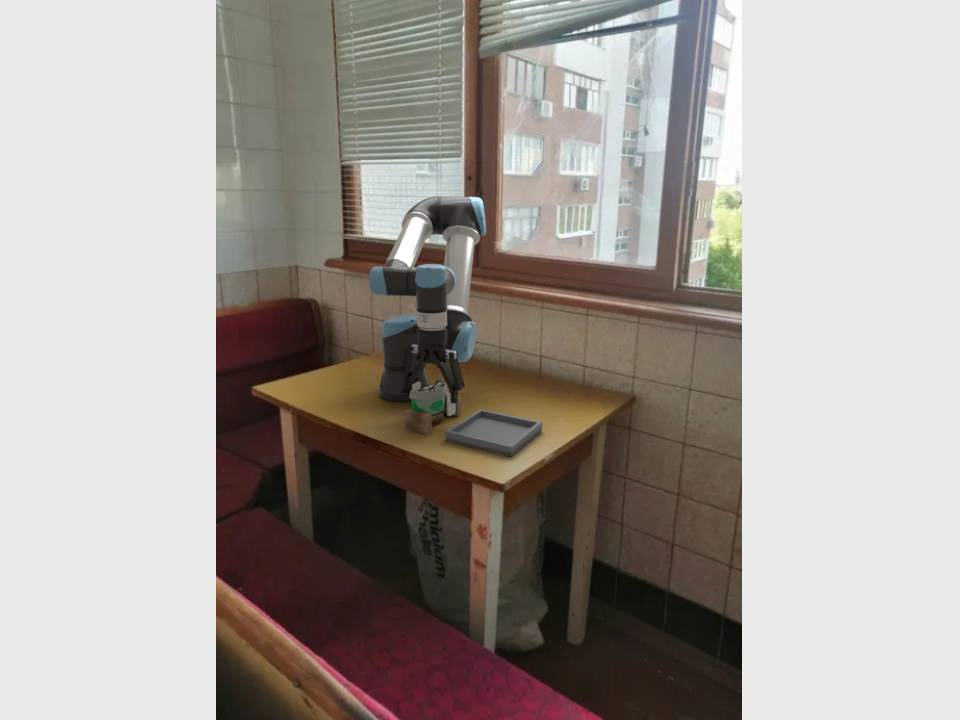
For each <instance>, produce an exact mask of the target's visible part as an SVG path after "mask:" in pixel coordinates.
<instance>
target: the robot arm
mask: <svg viewBox="0 0 960 720" xmlns="http://www.w3.org/2000/svg"><path fill="white" fill-rule="evenodd" d="M484 205H485V204H484V201H483V199H482V198H480V197H478V196H477V197H476V196H469V195H468V196H431V197H428V198H425V199H422V200H420V201H419V202H418V203H415V204H414V205H413V206H412V207H411V208H410V209H409V210H408V211H407V212H405V213H406V214H405V215H404V216H403V219H402V221H401V230H400V233H399V235H398V237H397V239H396V241H395V243H394V245H393V248H392V249H391V252H389V255H388V257H387V259H386V262H385V264H384V265H383V266H382V265H379V266H373V267H372V268H371V270H369V271H370V272H369V275H368V284H369V289H370V292H371V293H372V294H373V295H377V296H385V297H387V296H388V297H391V296H392V297H393V296H397V297H398V296H399V297H400V296H402V297H403V296H404V297H415V298H416V299H415V301H416V302H415V303H416V313H413V314H412V313H410V314H402V315H398V316H392V317H390V318H388V319H386V320H385V321H383V324H382V334H381V338H382V352H383V353H382V354H383V371H382V376H381V379H380V382H379V386H378V392H379V393H378V395H379V396H380V398H382V399H384V400H386V401H391V402H399V403H401V402H411V398H409V396H410V390H413V391H417V390H419V389H421V388H422V387H424V386H426V385H430V382H429V379H428V376H427V373H426V370H425V367H426V365H427V364H432V365H435V366H436V367H437V369H438V370H440V371H439V372H441V373H440V374H441V375H442V377H443V379H444V382H445V384H446V386H447V389H449V390H448V391H447V393H446V394H447V414H446V415H447V416H448V417H451V416H453V414H454V413H455V403H456V402H457V401H458V397H459V391H460V390H461V391H462V390H463V389H464V388H465V387H466V385H465V381H464V378H463V374H462V369H461V366H460V363H466V362H468V361H469V360H470V359H471V357H473V356H472V355H473V353H474V350H475V345H476V340H477V324H476V323H475V322H474V321H473V319H472V318H473V317H472V315H470V314H469V313H468V311H469V302H470V301H469V300H470V293H471V292H470V291H471V281H472V272H473V261H474V254H475V253H474V251H475V246H476V245H478V244H479V242H480V239H481V237H483V236H485V235H486V234H487V225H486V224H487V223H486V215H485V214H486V213H485V207H484ZM433 235H439V236H442V238H443V241H445V242H446V244H445V253H444V260H443V261H444V262H443V264H439V263H438V264H437V263H427V264H426V263H425V264H419V265H418V266H416V263H417V261H418V258H419V257H420V254H421V251H422V249H423V246H424V244H425V242H426V240H428V239H429V238H430V237H431V236H433ZM415 266H416V267H415Z"/></svg>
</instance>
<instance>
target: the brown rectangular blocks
mask: <svg viewBox="0 0 960 720" xmlns="http://www.w3.org/2000/svg"><path fill="white" fill-rule="evenodd" d="M444 415H447V393H446V394H445V402H444ZM453 416H454V417H460V416H462V397H460V396H458V401H457V402H456V403H455V413H454V414H453V415H452V417H453ZM404 422H405V424H404V426H405V430H406V431H410V432H414V433H419V434H421V435H422V434H423V435H426V436H429V435H431V434H433V426H432V414H428V413H423V412H419V411H415V410H412V409H411V408H408V409H406V410H405V411H404Z"/></svg>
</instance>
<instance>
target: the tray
mask: <svg viewBox="0 0 960 720" xmlns="http://www.w3.org/2000/svg"><path fill="white" fill-rule="evenodd" d="M541 431H542V432H543V421H538V420H535V419H529V418H524V417H521V416H515V415H510V414H506V413H501V412H496V411H493V410H492V411H491V410H487V409H486V410H485V409H482V408H479V409H478V410H477V411H475V412H473V413H471V414H470V415H469V416H467V417H465V418H463V420H460V421H459V422H457V423H456V424H454V425H453V426H451V427H449V428H448V429H447V430H445V431H444V432H445V434H444V435H445V438H444V440H445V442H449V443H453V444H456V445H460V446H465V447H467V448H468V447H469V448H473V449H477V450H480V449H481V450H480V451H484V450H486V451H485V452H488V451H490V452H489V453H492V452H494V453H493V454H496V453H499V454H498V455H500V454H503V455H502V456H504V455H507V456H506V457H508V456H511V457H510V458H513V457H514V456H515V455H516V454H517V453H518V452H519V451H521V450H522V449H523V448H524V447H525V446H527V445H528V444H529V443H530V442H531V441H533V438H534V437H535V436H536V437H537V436H539V435H540V434H541V433H542V432H541ZM540 432H541V433H540ZM536 437H535V438H536ZM535 438H534V439H535ZM530 440H531V441H530ZM529 441H530V442H529ZM528 442H529V443H528ZM527 443H528V444H527ZM526 444H527V445H526ZM524 445H525V446H524ZM523 446H524V447H523ZM522 447H523V448H522ZM521 448H522V449H521ZM520 449H521V450H520ZM517 451H518V452H517ZM515 453H516V454H515ZM514 454H515V455H514ZM513 455H514V456H513Z"/></svg>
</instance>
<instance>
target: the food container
mask: <svg viewBox="0 0 960 720" xmlns="http://www.w3.org/2000/svg"><path fill="white" fill-rule="evenodd" d="M447 391H449V390H448V385H447V383H446V381H445V380H443V379H440V378H436V381H435V382H433V383H431V384H430V385H426V386H424V387H422V388H421V389H419V390H417V391H413V390H410V396H409V398H411V401H410V402H411V410H415V411H419V412H423V413H428V414H432V427H435V426H438V425H441V424H442V423H443V421H444V415H445V414H444V402H445V394H447Z"/></svg>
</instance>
